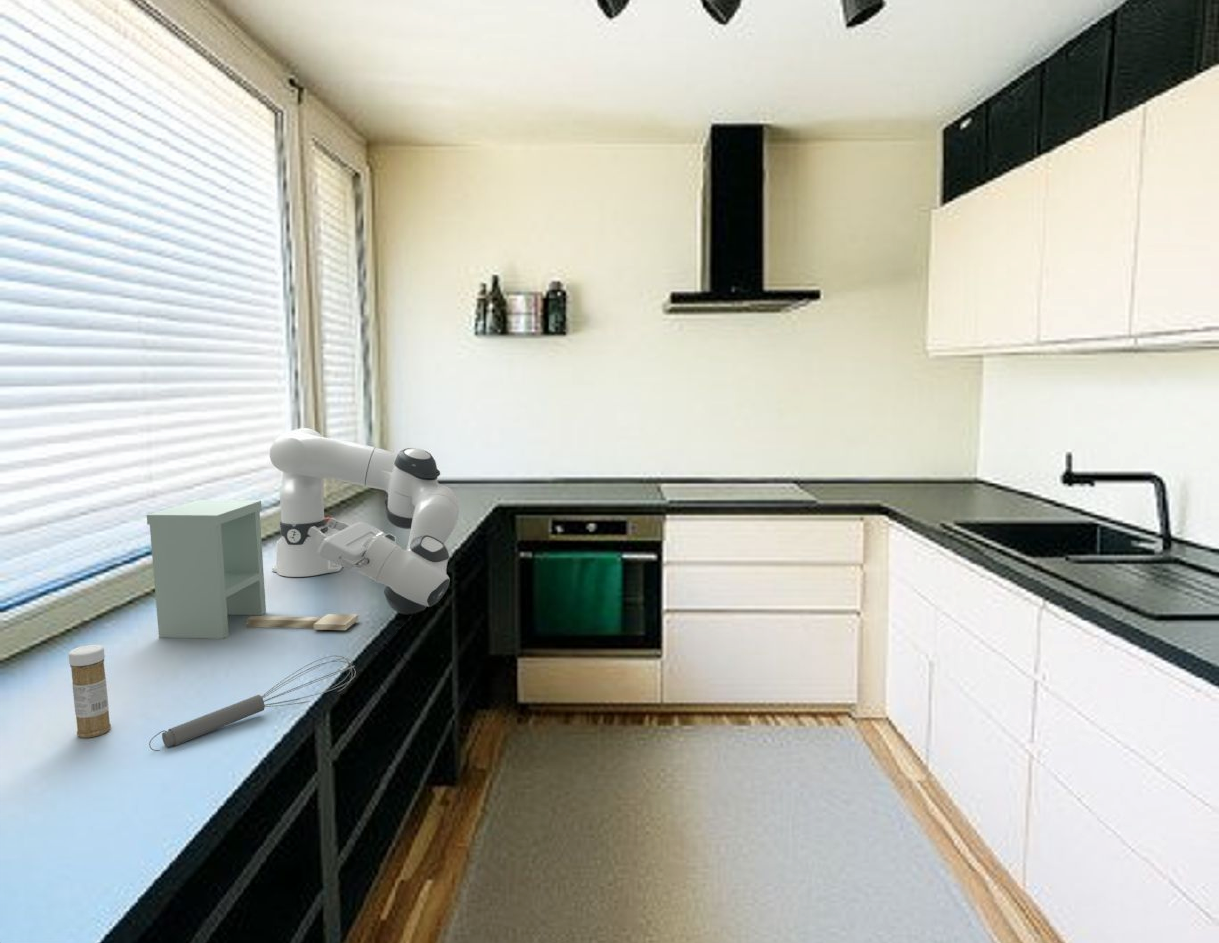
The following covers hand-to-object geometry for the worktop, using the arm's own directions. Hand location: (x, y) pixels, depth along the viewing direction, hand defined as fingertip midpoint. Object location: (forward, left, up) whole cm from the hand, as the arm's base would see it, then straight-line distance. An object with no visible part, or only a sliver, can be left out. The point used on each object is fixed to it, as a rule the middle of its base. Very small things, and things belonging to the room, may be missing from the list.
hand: (319, 525), depth 173 cm
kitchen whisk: (+44, +9, -23) cm, 50 cm away
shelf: (0, -25, -22) cm, 33 cm away
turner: (0, -5, -21) cm, 21 cm away
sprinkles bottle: (+52, -14, -23) cm, 58 cm away
